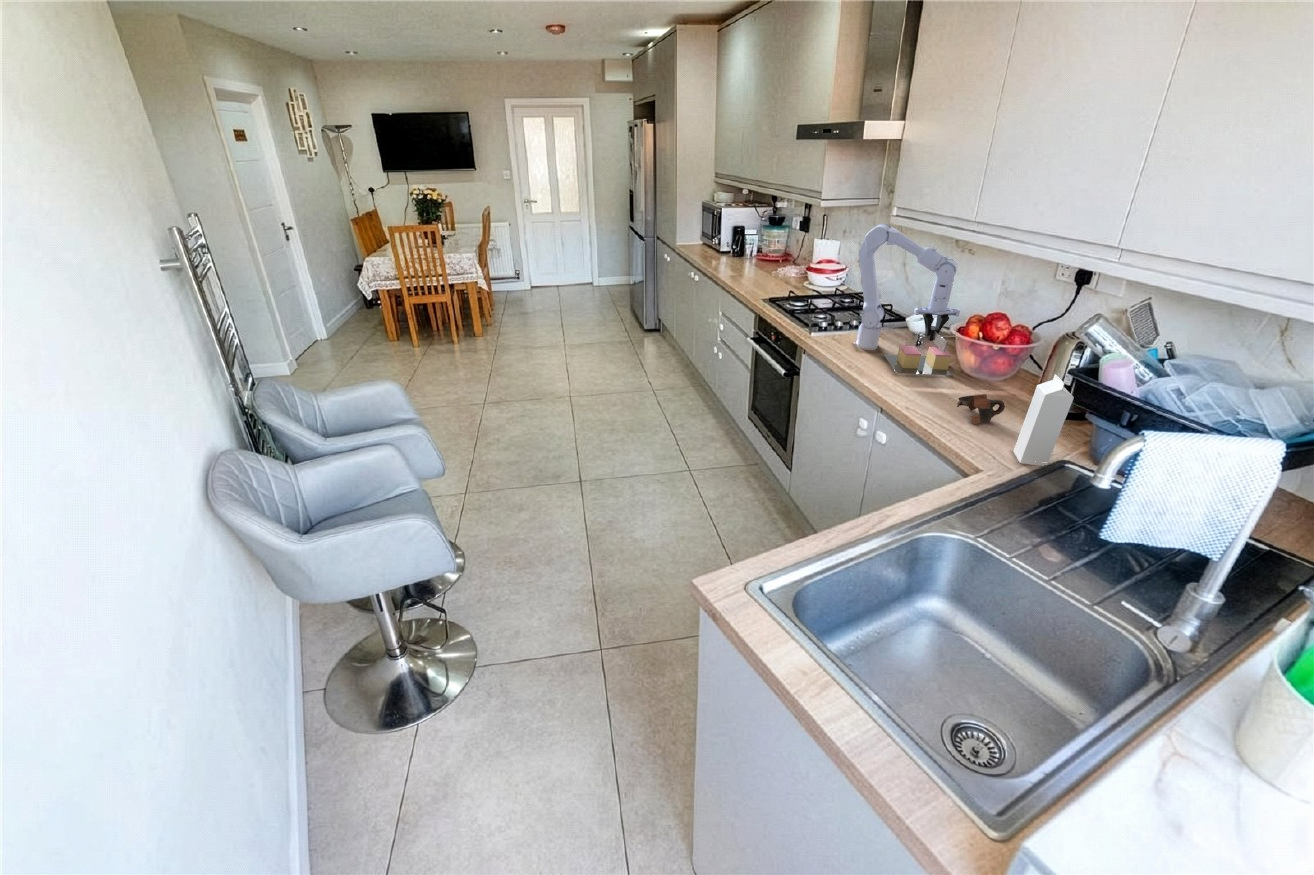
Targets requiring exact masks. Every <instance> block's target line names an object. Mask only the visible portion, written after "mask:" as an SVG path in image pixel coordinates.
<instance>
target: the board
mask: <svg viewBox="0 0 1314 875" xmlns="http://www.w3.org/2000/svg"><path fill="white" fill-rule="evenodd" d="M883 356H884V358H885V359H886V361H887V362H888V363H889V366H891V368H892V369H893V371H894V372H895V373H896V374H902V375H903V374H904V375H905V374H906V375H926V376H927V375H929V376H952V373H951V372H950V371H949V370H942V369H932V368H931V367H930V366H929V364H928V363H927V362H926V361H925V360H926V356H927V355H921V357H920V362H919V366H918V369H916V368H902V366H901V365H900V363H899V362H898V361H897V356H898V354H883Z"/></svg>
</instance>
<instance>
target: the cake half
mask: <svg viewBox="0 0 1314 875" xmlns="http://www.w3.org/2000/svg"><path fill="white" fill-rule="evenodd" d="M897 355H898V356H897V361H898V362H899V363H900V365H901V366H902V368H916V369H918V366H919V362H920V357H921V356H922V353H921V352H920V351H919V350H918V348H917V347H916V346H915V345H899V346H898V352H897Z"/></svg>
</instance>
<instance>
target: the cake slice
mask: <svg viewBox="0 0 1314 875" xmlns="http://www.w3.org/2000/svg"><path fill="white" fill-rule="evenodd" d="M925 356H926V360H925V361H926V362H927V363H928V364H929V366H930V367H931V368H932V369H942V370H947V371H949V370H948V369H949V367H950V363H951V358H952V354H951V353H950V352H949V351H948V350H947V349H946V351H945V352H943V351H942V350H941V349H940V348H939V347H938V346H928V348H927V352H926V355H925Z"/></svg>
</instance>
